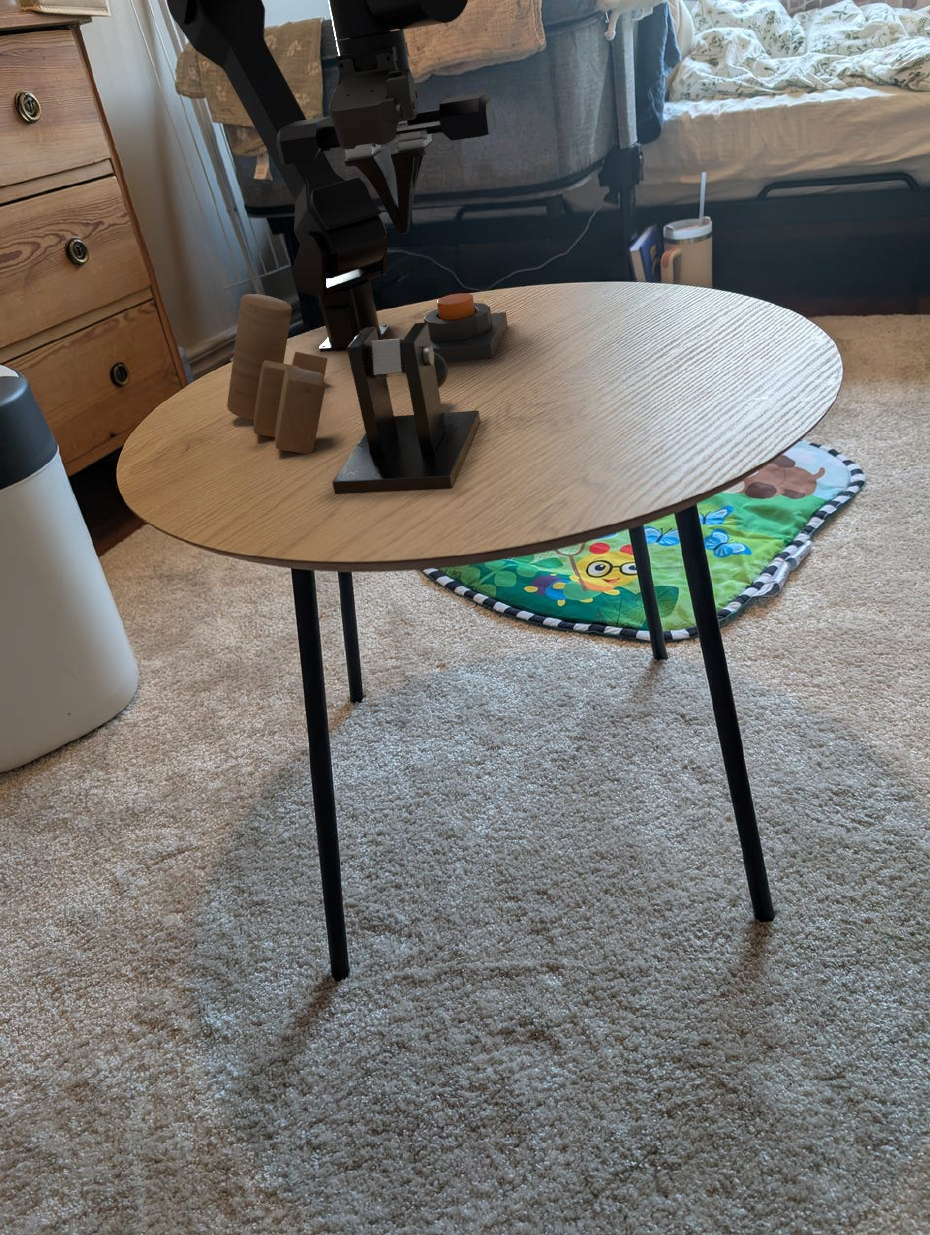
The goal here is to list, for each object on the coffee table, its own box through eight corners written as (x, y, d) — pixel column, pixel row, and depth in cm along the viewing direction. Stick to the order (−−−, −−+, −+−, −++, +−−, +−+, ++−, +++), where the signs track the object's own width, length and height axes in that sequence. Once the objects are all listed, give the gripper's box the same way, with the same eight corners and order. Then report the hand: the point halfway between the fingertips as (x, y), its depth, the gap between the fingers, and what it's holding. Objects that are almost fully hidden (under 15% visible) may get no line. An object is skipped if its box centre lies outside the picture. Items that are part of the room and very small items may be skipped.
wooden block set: (330, 477, 75) (354, 359, 70) (224, 460, 73) (241, 336, 67) (316, 397, 90) (335, 294, 84) (227, 381, 87) (241, 274, 82)
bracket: (377, 430, 76) (352, 314, 71) (480, 423, 74) (463, 303, 69) (335, 496, 67) (302, 369, 61) (452, 491, 65) (429, 358, 59)
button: (443, 312, 91) (441, 295, 90) (478, 309, 91) (475, 291, 90) (436, 323, 89) (433, 305, 88) (471, 320, 88) (469, 302, 87)
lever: (417, 393, 78) (415, 355, 77) (453, 390, 77) (451, 352, 76) (366, 381, 65) (363, 335, 65) (409, 377, 64) (406, 331, 64)
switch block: (434, 334, 96) (429, 301, 94) (508, 328, 94) (503, 294, 92) (413, 367, 88) (406, 332, 86) (492, 361, 86) (487, 325, 84)
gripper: (231, 61, 70) (282, 267, 79) (464, 20, 66) (491, 242, 75) (277, 50, 79) (319, 236, 88) (484, 14, 75) (506, 213, 84)
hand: (404, 232), depth 83 cm, fingers closed
